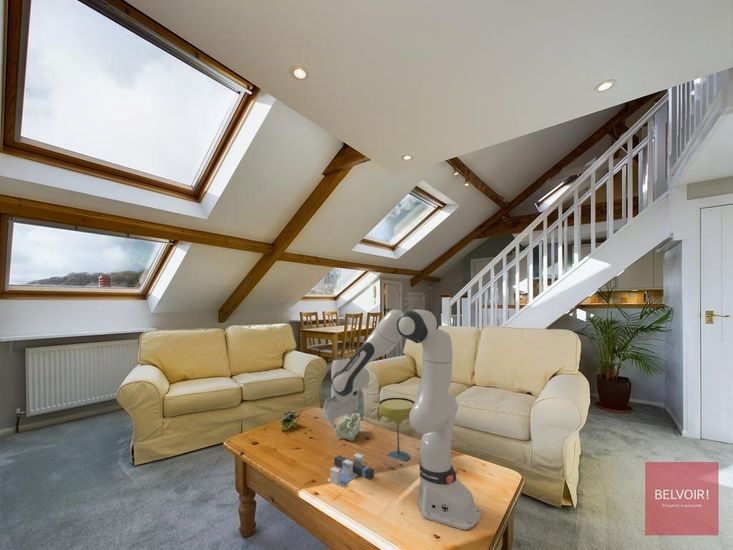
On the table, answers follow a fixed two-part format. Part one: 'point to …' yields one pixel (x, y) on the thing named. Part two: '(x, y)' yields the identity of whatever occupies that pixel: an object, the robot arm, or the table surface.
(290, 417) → the passion flower
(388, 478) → the table surface
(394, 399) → the cocktail glass
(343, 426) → the folded clay sculpture
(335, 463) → the long dark grey plank
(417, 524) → the table surface
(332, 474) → the grey and blue pillars
